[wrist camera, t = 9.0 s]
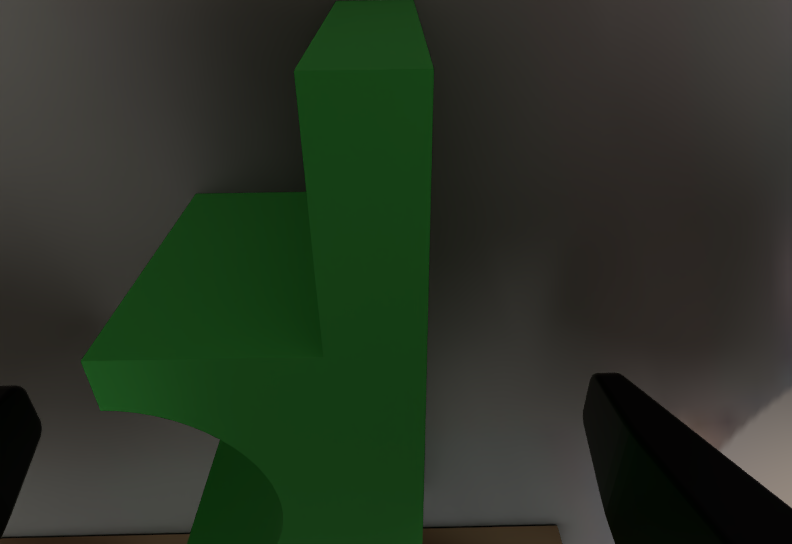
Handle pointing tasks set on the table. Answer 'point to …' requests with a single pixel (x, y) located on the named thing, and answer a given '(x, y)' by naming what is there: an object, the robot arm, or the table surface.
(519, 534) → the brown wooden plank
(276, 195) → the pipe clamp
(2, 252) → the table surface
